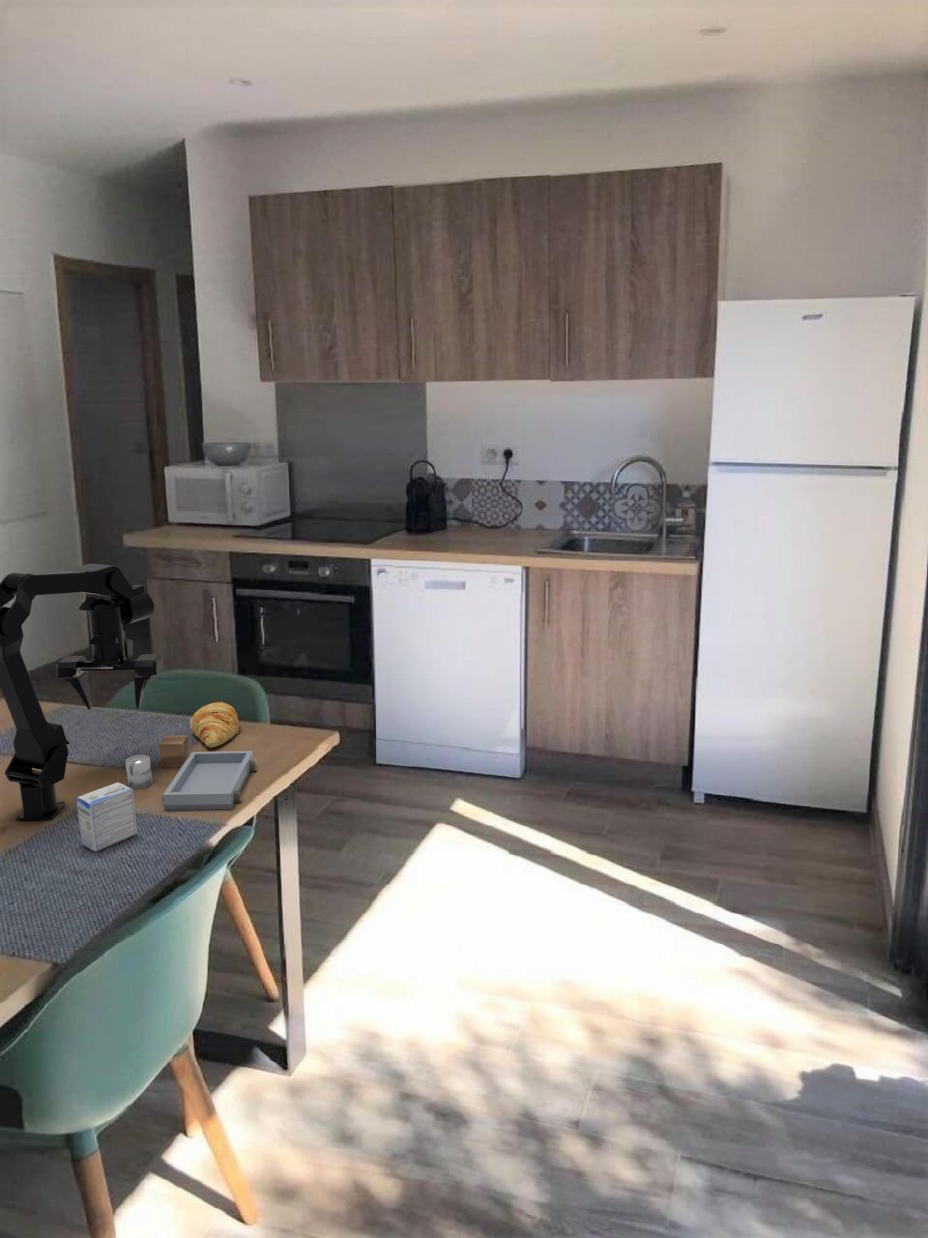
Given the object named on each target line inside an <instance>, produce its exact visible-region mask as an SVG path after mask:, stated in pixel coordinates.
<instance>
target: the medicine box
mask: <svg viewBox="0 0 928 1238" xmlns="http://www.w3.org/2000/svg"><path fill="white" fill-rule="evenodd" d="M75 799H76V807H77V815H78V822H79V823H78V824H79V831H80V839H81V840H80V841H81V844H82V845H83V846H85V847H86V848H88V849H89V850H91V851H94V852H98V851H101V850H103V849H106V848H107V847H109V846H112V845H115V844H117V843H119V842H123V841H124V840H126V839H129V838H131V837H133V836H136V835H138V831H137V820H136V812H135V811H136V809H135V802H134V801H135V798H134V791H133V788H130V787H128V785H125V784H123V783H121V782H114V783H112V784H108V785H107V786H104V787H102V788H98V789H96V790H94V791H90V792H87V793H85V794H82V795H80V796H78V797H76V798H75Z"/></svg>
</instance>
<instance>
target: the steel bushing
mask: <svg viewBox="0 0 928 1238" xmlns="http://www.w3.org/2000/svg"><path fill="white" fill-rule="evenodd" d="M125 769H126V777H127V778H126V779H127V787H129V788H131V789H134V790H135V789H136V790H138V789H144V788H147V787H149V786H152V785H153V774H152V766H151V758H150V756H149V755H145V754H137V755H132V756H130V757H128V758H126V759H125Z"/></svg>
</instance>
